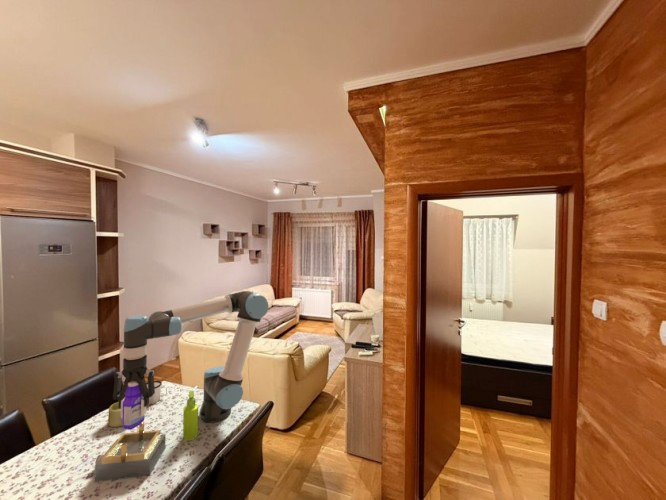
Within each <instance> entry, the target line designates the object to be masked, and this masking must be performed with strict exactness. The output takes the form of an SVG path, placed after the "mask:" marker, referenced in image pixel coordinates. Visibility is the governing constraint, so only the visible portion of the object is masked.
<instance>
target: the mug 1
mask: <svg viewBox="0 0 666 500" xmlns="http://www.w3.org/2000/svg"><path fill="white" fill-rule="evenodd" d="M118 406H119V401H117V402H115V403H113V404H110V406H109V407H108V417H107V418H108V419H107V424H108V426H109V427H111V428H118V427H123V426H122V424H123V423H122V420H123V418H121V409H119V408H118Z"/></svg>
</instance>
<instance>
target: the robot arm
mask: <svg viewBox="0 0 666 500" xmlns="http://www.w3.org/2000/svg"><path fill="white" fill-rule="evenodd" d="M268 311H269V301H268V299H267V298H266V297H265V296H264V295H262V294H261V293H258V292H253V291H250V290H244V291H243V290H242V291H238V292H234V293H231V294H226V295H225V296H224V297H222V298H221V297H220V298H217V299H213V300H209V301H204V302H200V303H199V302H198V303H195V304H191V305H187V306H186V305H185V306H183V307H178V308H174V309H169V310H165V311H162V310H156V311H154V312H152V313H151V314H150V315H149V317H148V316H147V315H143V314H142V315H132V316H129V317H127V318H125V320H124V327H123V352H122V353H123V355H122V356H123V359H122V369H123V370H121V371H120V370H119V371H116V372H115V373H114V374H113V378H114V384H113V394H112V400H116V401H117V400H118V401H117V402H119V406H118V408H119V409H121V418H123V401H124V399H125V397H126V396H125V393H126V391H127V388H128V382H129V381H137V383H138V384H139V387H140V389H141V392H142V395H143V398H142V400H141V416H144V415H146V414H147V407H148V406H149V405H148V404H149V397H152V395H153V394H154V393H155V388H154V381H155V372H156V369H152V370H151V369H148V367H147V361H148V360H147V358H148V357H147V356H148V355H147V351H148V340H152V339H158V338H166V337H172V336H176V335H179V334H181V332H182V324H186V323H190V322H193V321H194V322H195V321H197V320H201V319H205V318H209V317H213V316H216V315H221V314H225V313H228V314H232V313H237V316H236V317H237V319H238V322H237V327H236V330H235V332H234V336H233V339H232V341H231V342H232V343H231V345H230V349H229V352H228V355H227V359H226V362H225V365H224V366H223V365H222V366H220V365H219V366H213V367H211V368H208V369H207V370H205V371H204V373H203V397H202V398H203V400H202V403H201V407H200V409H199V411H198V419H199V420H200V421H202V422H204V423H216V422H220V421H222V420H224V419H226V418H228V416H230V414H231V412H232V408H234V407H235V406H236V405H238V404H239V403H240V402H241V400H242V398H243V396H244V390H243V387H242V384H243V381H244V376H243V373H242V372H243V369H244V366H245V363H246V360H247V356H248V352H249V350H250V346H251V343H252V339H253V336H254V332H255V329H256V326H257V325H258V324H260V322H261V321H262V318H263V317H264V316H265V315H266V314H267V313H268ZM145 375H146V376H147V382H146V378H145ZM122 377H124V378H125V379H124V382H123V386H121V385H122V381H123V380H122V379H123V378H122ZM146 383H148V388H147V385H146Z"/></svg>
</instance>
